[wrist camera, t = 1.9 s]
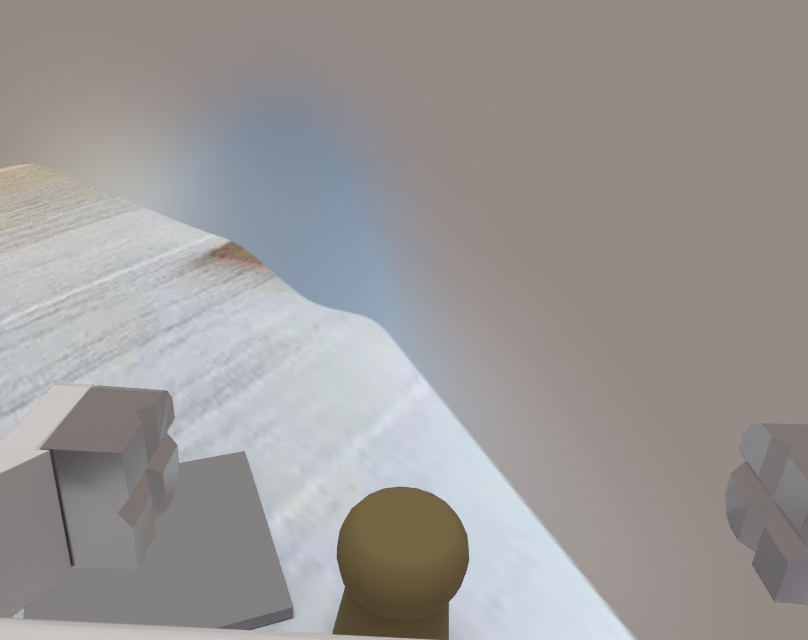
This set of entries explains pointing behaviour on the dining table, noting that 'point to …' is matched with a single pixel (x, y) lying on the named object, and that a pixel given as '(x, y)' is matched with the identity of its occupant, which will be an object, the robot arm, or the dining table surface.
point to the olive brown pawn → (400, 565)
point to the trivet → (188, 562)
